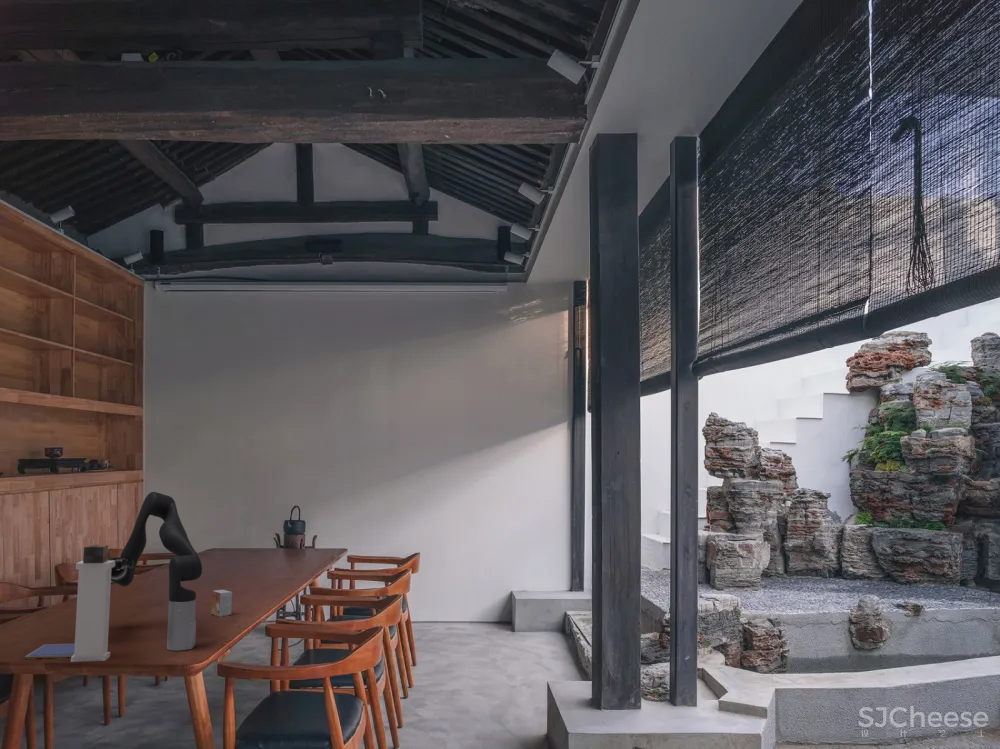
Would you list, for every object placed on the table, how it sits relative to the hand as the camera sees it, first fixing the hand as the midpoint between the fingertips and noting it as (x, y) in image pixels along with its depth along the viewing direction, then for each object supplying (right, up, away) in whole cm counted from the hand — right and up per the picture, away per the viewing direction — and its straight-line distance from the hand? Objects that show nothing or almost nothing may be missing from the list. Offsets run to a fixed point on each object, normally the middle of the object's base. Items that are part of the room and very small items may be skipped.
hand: (110, 561), depth 305 cm
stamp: (+2, +3, -12) cm, 13 cm away
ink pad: (-14, -30, -10) cm, 35 cm away
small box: (+21, -37, +57) cm, 71 cm away
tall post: (+2, -29, -19) cm, 35 cm away
